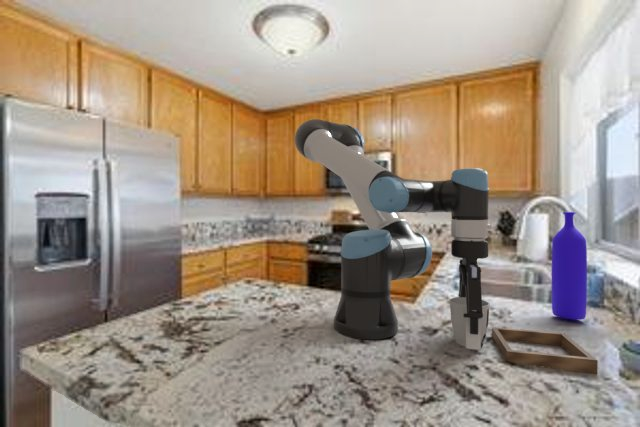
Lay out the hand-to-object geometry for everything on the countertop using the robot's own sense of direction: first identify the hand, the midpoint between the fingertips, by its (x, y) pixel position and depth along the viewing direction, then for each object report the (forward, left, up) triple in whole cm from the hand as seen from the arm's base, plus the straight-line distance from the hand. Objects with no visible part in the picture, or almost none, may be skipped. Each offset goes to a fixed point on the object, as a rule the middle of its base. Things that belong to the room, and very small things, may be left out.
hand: (469, 339), depth 77 cm
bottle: (+31, +33, -2) cm, 45 cm away
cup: (0, 0, -2) cm, 2 cm away
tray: (+13, 0, -2) cm, 14 cm away
